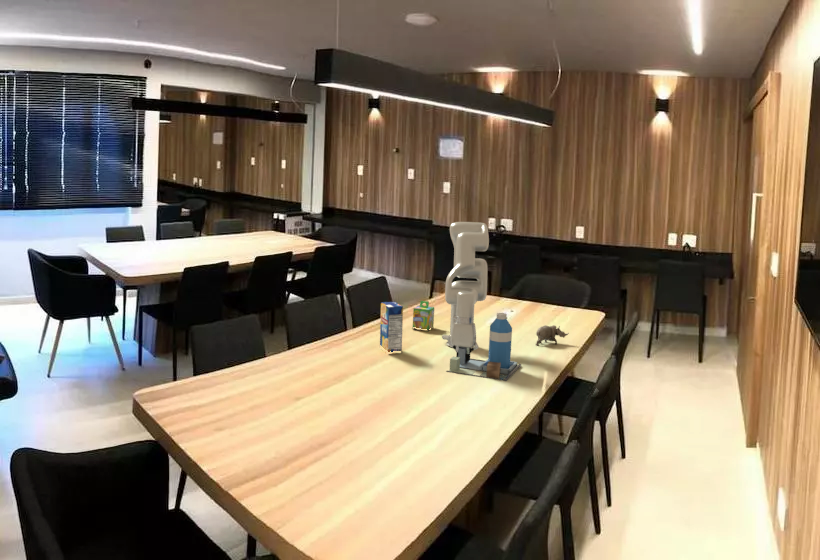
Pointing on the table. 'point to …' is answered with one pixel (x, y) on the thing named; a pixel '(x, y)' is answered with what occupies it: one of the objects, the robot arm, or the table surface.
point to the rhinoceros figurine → (549, 334)
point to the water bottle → (500, 341)
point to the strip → (458, 366)
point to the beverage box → (391, 326)
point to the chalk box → (423, 316)
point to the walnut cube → (493, 369)
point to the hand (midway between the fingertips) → (463, 361)
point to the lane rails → (491, 377)
